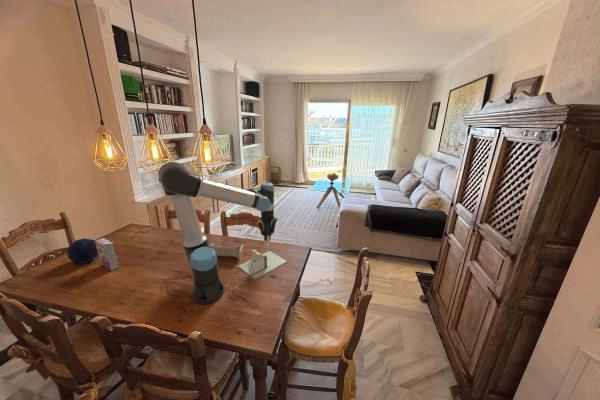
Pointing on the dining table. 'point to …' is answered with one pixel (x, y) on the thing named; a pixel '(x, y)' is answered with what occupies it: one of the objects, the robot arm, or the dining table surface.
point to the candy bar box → (107, 254)
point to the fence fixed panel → (258, 265)
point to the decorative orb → (82, 251)
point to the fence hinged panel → (256, 255)
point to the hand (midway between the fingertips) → (267, 244)
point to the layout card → (272, 263)
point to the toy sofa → (228, 250)
